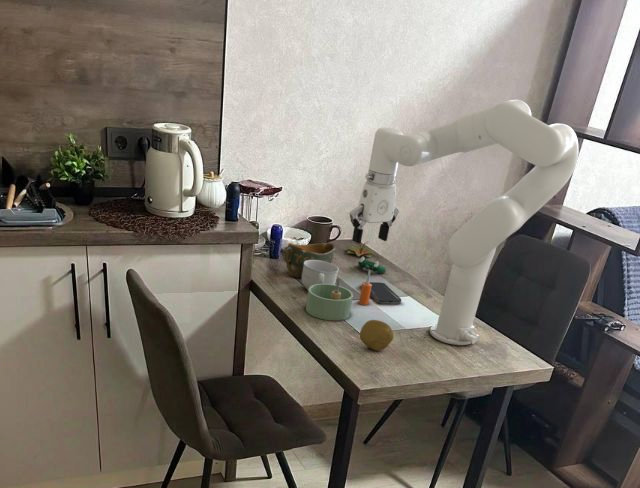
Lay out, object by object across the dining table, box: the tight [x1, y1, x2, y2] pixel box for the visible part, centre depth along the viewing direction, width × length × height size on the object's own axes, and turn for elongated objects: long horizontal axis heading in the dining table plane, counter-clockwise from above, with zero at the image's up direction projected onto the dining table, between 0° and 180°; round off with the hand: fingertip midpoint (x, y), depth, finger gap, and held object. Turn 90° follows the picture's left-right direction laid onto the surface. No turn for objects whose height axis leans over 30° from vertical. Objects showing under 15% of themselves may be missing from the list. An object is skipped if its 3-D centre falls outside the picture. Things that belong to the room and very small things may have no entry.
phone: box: [361, 281, 402, 305], centre depth 225 cm, size 8×1×15 cm
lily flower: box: [346, 239, 377, 258], centre depth 257 cm, size 12×12×5 cm
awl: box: [331, 277, 341, 300], centre depth 204 cm, size 3×3×10 cm
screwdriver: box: [358, 270, 372, 306], centre depth 215 cm, size 3×3×10 cm
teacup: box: [301, 260, 340, 291], centre depth 219 cm, size 14×11×8 cm
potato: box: [359, 319, 394, 352], centre depth 189 cm, size 7×8×8 cm
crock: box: [305, 284, 354, 322], centre depth 208 cm, size 13×13×6 cm
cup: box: [281, 242, 336, 279], centre depth 232 cm, size 13×20×10 cm, turn 105°
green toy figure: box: [357, 256, 387, 274], centre depth 243 cm, size 9×4×6 cm
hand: (369, 240), depth 205 cm, fingers open, 9 cm apart
